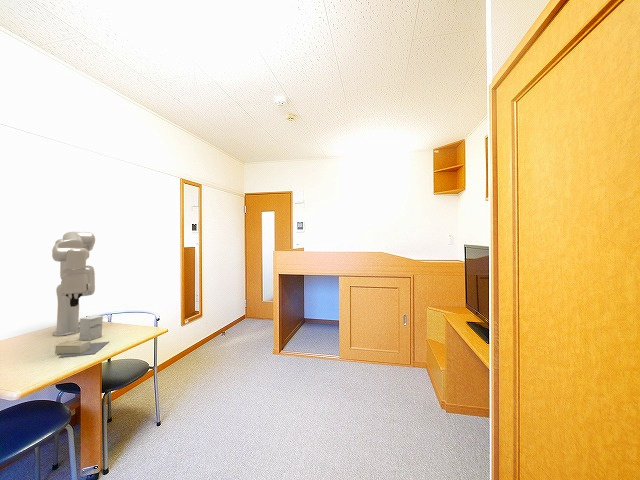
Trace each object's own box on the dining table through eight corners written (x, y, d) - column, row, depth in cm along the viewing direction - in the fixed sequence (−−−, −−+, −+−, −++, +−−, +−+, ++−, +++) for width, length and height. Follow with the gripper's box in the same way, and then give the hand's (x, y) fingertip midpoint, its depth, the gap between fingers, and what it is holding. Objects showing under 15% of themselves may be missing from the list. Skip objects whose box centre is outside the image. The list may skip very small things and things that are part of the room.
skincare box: (66, 341, 129) (91, 340, 130) (66, 349, 129) (90, 348, 130) (54, 345, 123) (80, 345, 124) (54, 354, 123) (80, 353, 124)
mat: (77, 345, 135) (77, 344, 135) (108, 342, 140) (109, 341, 140) (58, 358, 120) (58, 357, 120) (94, 354, 125) (94, 353, 125)
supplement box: (88, 341, 141) (89, 319, 141) (78, 339, 143) (79, 318, 143) (102, 336, 148) (103, 315, 149) (92, 335, 150) (93, 314, 150)
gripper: (52, 272, 124) (50, 308, 123) (89, 272, 129) (88, 307, 129) (61, 271, 131) (60, 305, 130) (96, 270, 136) (95, 303, 136)
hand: (74, 305), depth 130 cm, fingers closed
